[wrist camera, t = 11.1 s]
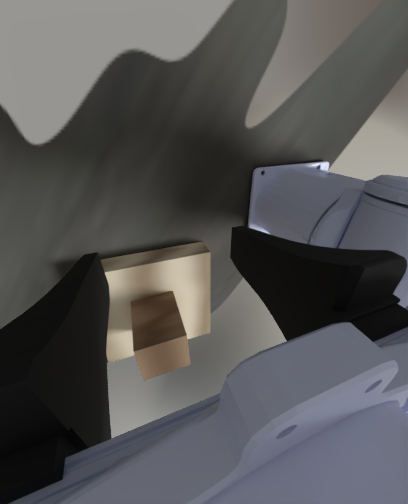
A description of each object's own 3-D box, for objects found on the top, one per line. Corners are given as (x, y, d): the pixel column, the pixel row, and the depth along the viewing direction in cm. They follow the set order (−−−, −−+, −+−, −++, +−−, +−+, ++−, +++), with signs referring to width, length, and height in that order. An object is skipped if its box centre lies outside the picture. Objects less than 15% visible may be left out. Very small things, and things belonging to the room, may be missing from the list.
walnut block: (172, 290, 23) (186, 335, 18) (177, 318, 26) (190, 364, 21) (130, 301, 22) (133, 351, 17) (139, 329, 25) (143, 380, 20)
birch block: (201, 239, 25) (210, 252, 22) (203, 316, 32) (210, 332, 29) (78, 260, 21) (72, 278, 19) (110, 341, 28) (109, 362, 26)
